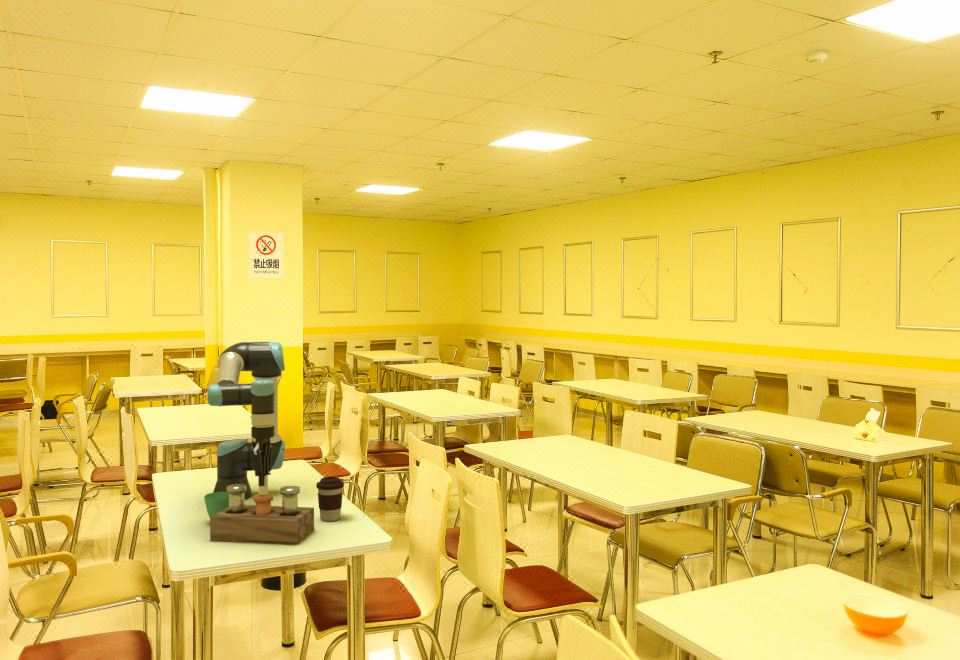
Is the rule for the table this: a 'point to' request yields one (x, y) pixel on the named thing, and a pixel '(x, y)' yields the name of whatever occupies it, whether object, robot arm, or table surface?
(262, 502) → the plunger
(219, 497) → the mug
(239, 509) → the plunger
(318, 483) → the coffee cup
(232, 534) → the brown wooden block
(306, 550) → the table surface
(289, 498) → the plunger
